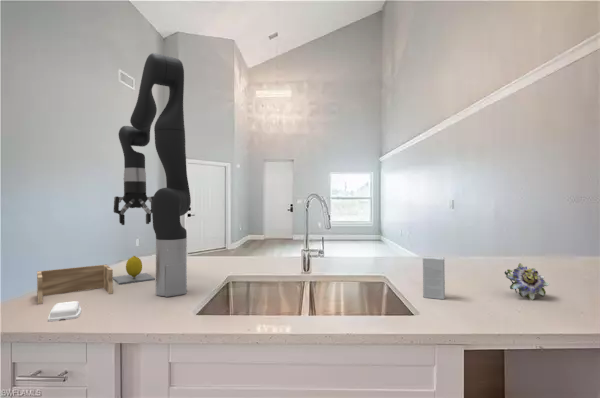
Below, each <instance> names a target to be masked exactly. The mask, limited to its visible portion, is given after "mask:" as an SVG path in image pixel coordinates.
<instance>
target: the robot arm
mask: <svg viewBox="0 0 600 398" xmlns="http://www.w3.org/2000/svg"><path fill="white" fill-rule="evenodd" d="M143 66H144V67H143V71H142V75H141V80H140V85H139V90H138V95H137V96H138V97H137V100H136V103H135V106H134V108H133V111H132V113H131V116H130V119H129V121H130V122H129V123H130V125H131V126H130V125H123V126H121V127H120V129H119V131H118V140H119V143H120V146H121V149H122V152H123V153H122V154H123V158H124V169H123V196H114V197H113V198H114V200H113V213H114V214H118V217H119V220H118V221H119V224H120V225H121V226H125V223H126V221H125V213H126V212H127V211H128V210H129V208H130V209H135V208H136V209H141V208H142V209H143V210H144V212H145V224H146V225H149V224H150V223H151V222H152V229H153V231H154V233H155V294H156V295H157V296H160V297H165V298H169V297H175V296H180V295H181V296H182V295H186V294H187V292H188V291H187V289H188V285H187V281H188V279H187V277H188V275H187V273H188V270H187V269H188V267H187V266H188V265H187V261H188V260H187V255H188V254H187V253H188V252H187V249H188V248H187V245H188V244H187V242H188V241H187V239H188V238H187V237H188V235H187V234H188V233H187V229H186V228H185V227H183V226H182V224H181V216H184V215H186V214H187V213H188V211H189V209H190V208H191V201H192V199H191V198H192V197H191V192H190V191H191V190H190V187H189V185H190V184H189V180H188V179H189V178H188V172H187V156H186V155H187V154H186V153H187V152H186V131H185V130H186V127H185V118H184V117H185V115H184V114H185V113H184V93H185V91H184V90H185V70H184V69H185V68H184V65H183V62H182V61H181V60H180V59H178V58H176V57H172V56H169V55H164V54H160V53H154V52H153V53H150V54H149V55H148V56H147V57H146V60H145V63H144V65H143ZM154 85H158V86H163V87H167V88H169V91H168V92H169V95H168V99H167V103H166V105H165V107H164V109H163V110H162V112H160V114H159V116H158V118H157V119H156V118H155V117H156V116H157V110H158V109H157V104H156V101H155V98H154V96H153V87H154ZM155 119H156V121H155V124H154V126H153V127H154V131H153V132H154V147H155V150H156V153H157V155H158V158H159V161H160V163H161V165H162V167H163V169H164V173H165V180H166V181H165V183H166V187H162V188H160V189H158V190H156V192H155V193H154V194H153V196H147V172H146V156H145V154H144V153H142V152H140V151H136V150H134V148H133V147H146V146H148V144H149V143H150V141H151V128H152V125H153V122H154V120H155ZM122 201H123V202H124V203H125V204H124V205H123V206H122V208H121V209H120V203H122ZM147 201H148V202H149V203H150V208H149V206H148V205H147V204H146V203H147Z"/></svg>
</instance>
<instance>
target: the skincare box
mask: <svg viewBox="0 0 600 398" xmlns="http://www.w3.org/2000/svg"><path fill="white" fill-rule="evenodd" d="M445 272H446V271H445V257H443V256H425V255H424V256H423V258H422V297H423V298H426V299H437V300H445V297H446V292H445V291H446V286H445V285H446V282H445V281H446V280H445V277H446V275H445Z"/></svg>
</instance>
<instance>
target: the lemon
mask: <svg viewBox="0 0 600 398" xmlns="http://www.w3.org/2000/svg"><path fill="white" fill-rule="evenodd" d="M125 264H126V265H125V270H126V273H127V275H131V276H132V277H136V276H137V275H138V274H141V272H142V270H143V263H142V260H141V259H140V257H138V256H136V255H133V256H131V257H130V258H128V259H127V261H126V263H125Z"/></svg>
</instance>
